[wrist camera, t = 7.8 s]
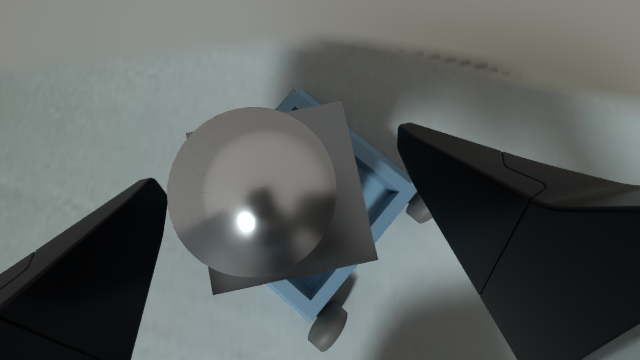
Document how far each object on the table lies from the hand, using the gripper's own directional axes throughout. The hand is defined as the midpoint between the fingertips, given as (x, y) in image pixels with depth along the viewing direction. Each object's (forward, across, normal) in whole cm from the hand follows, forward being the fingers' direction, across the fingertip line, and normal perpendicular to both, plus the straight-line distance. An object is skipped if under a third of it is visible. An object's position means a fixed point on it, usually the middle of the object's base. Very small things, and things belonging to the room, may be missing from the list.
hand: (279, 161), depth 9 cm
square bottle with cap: (+5, 0, +7) cm, 9 cm away
